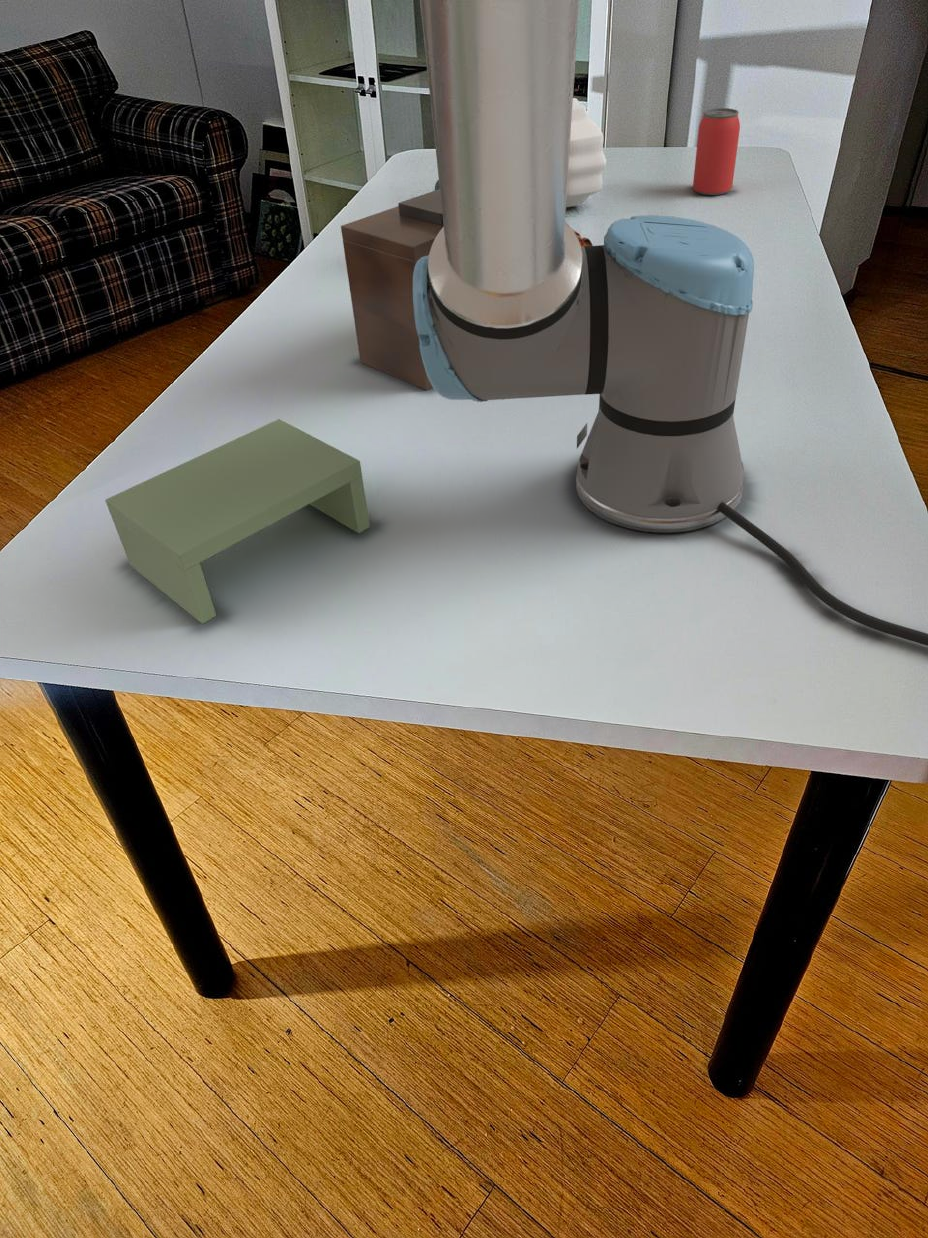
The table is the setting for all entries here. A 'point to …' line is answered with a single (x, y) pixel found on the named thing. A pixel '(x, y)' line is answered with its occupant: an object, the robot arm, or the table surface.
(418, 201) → the wood-handled square paddle
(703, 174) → the beer can
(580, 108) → the white ridged figurine
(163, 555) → the low shelf
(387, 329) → the wooden side table
